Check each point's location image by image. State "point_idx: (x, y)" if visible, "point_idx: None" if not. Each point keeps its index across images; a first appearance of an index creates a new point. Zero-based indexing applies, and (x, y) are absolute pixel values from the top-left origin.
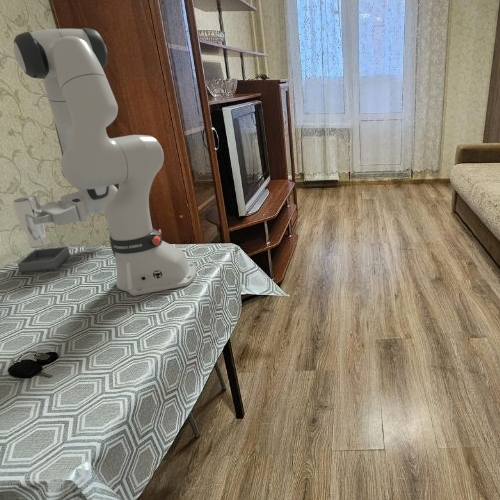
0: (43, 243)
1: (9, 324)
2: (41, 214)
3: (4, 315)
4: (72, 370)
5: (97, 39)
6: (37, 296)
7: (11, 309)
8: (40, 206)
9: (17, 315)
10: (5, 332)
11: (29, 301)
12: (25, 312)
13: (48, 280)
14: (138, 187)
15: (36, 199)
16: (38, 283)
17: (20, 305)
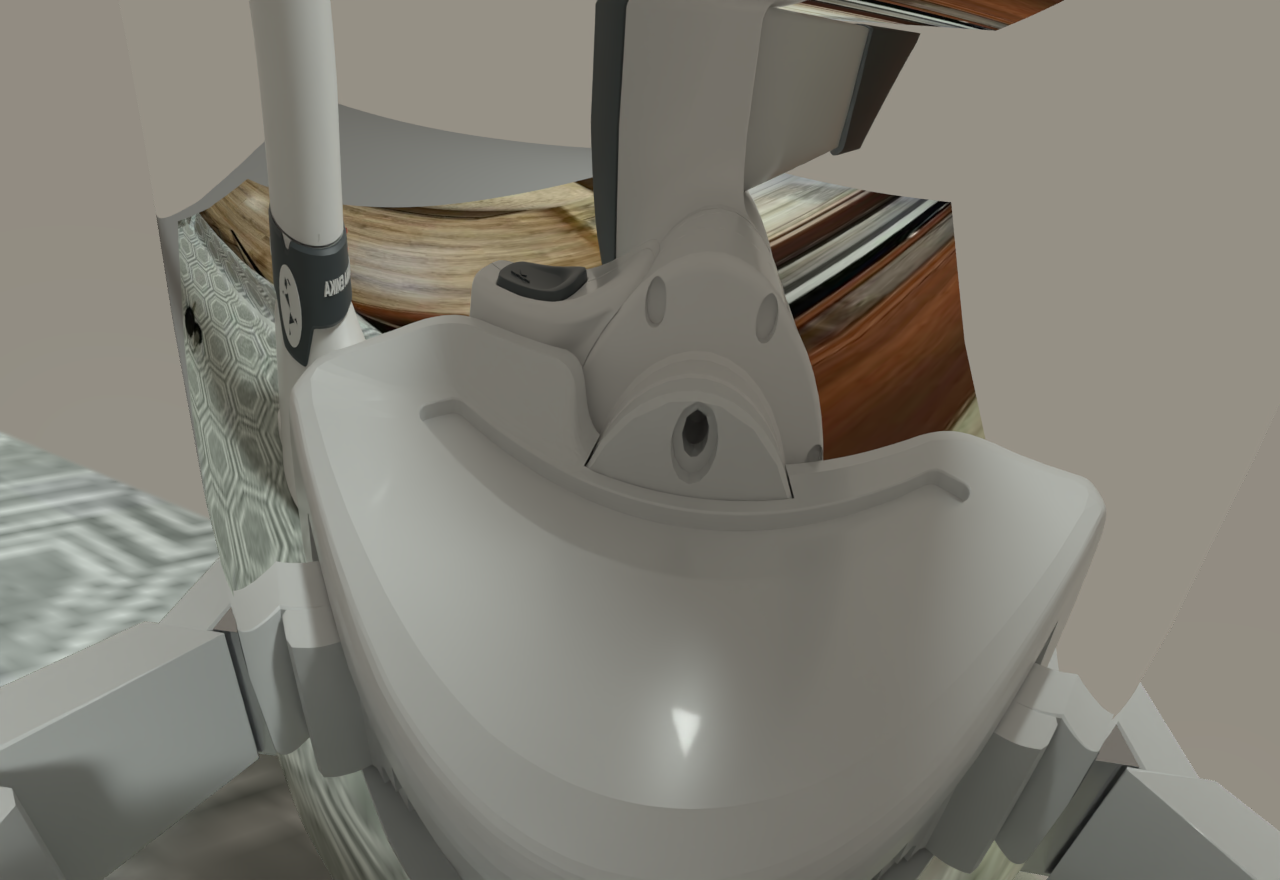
0: None
1: (41, 469)
2: (283, 770)
3: (152, 495)
4: None
5: None
6: (59, 658)
7: (156, 530)
8: (288, 627)
9: (53, 513)
10: (12, 440)
11: (84, 605)
12: (13, 538)
13: (154, 864)
14: None
15: (127, 4)
16: (232, 782)
17: (123, 564)
